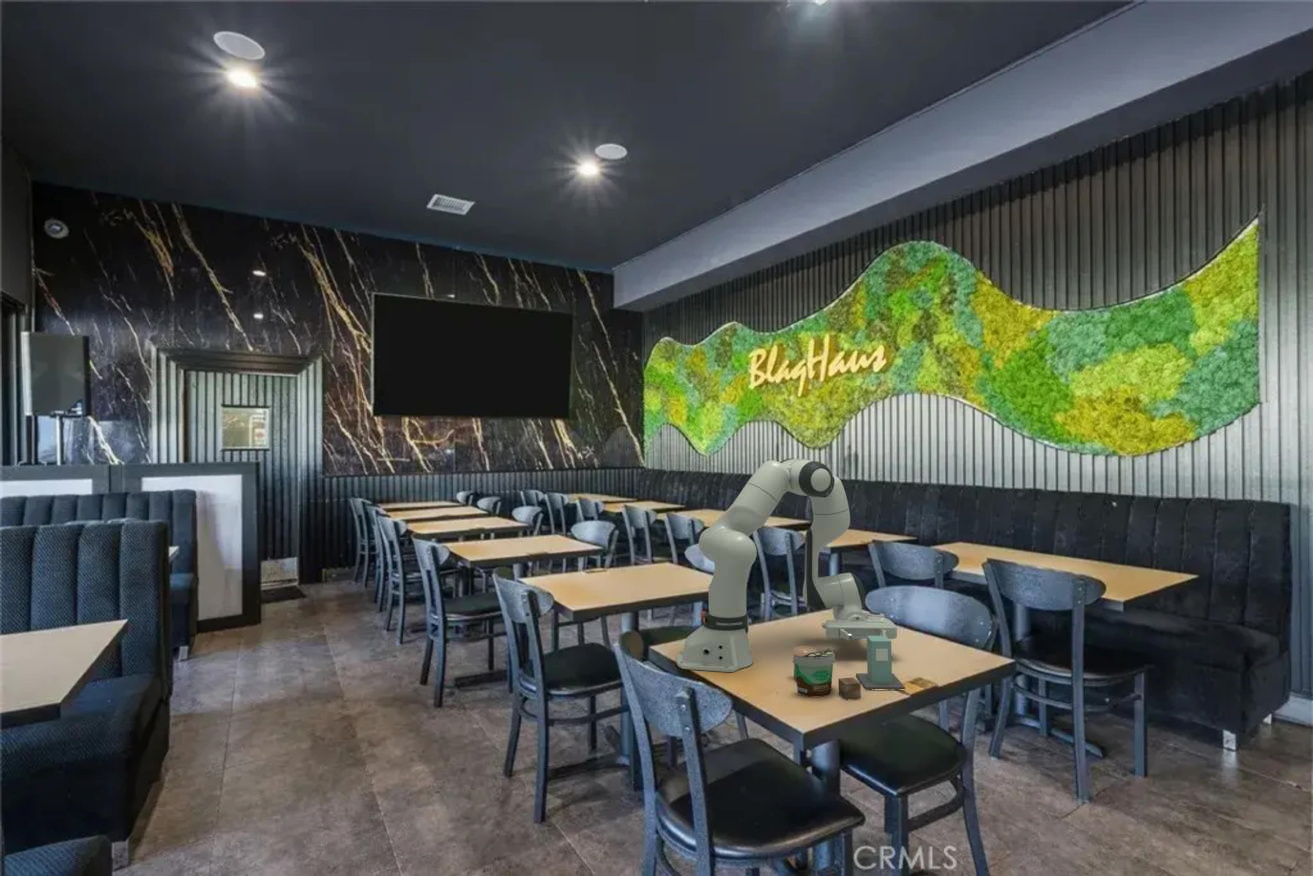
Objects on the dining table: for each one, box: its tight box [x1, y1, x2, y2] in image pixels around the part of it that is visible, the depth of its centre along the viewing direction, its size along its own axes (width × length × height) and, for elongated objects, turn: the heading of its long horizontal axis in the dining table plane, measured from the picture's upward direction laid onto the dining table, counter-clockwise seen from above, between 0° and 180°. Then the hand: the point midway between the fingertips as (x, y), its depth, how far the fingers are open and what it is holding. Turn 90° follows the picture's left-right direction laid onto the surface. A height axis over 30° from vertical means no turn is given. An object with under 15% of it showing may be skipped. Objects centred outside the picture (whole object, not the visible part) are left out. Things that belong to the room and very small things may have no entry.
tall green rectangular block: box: [866, 636, 893, 684], centre depth 171 cm, size 5×5×11 cm
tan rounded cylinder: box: [793, 645, 817, 682], centre depth 175 cm, size 6×6×8 cm
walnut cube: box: [837, 676, 862, 701], centre depth 163 cm, size 4×4×4 cm
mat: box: [855, 672, 906, 691], centre depth 171 cm, size 10×10×1 cm
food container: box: [792, 647, 837, 697], centre depth 165 cm, size 12×6×10 cm, turn 117°
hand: (866, 637), depth 183 cm, fingers open, 8 cm apart
